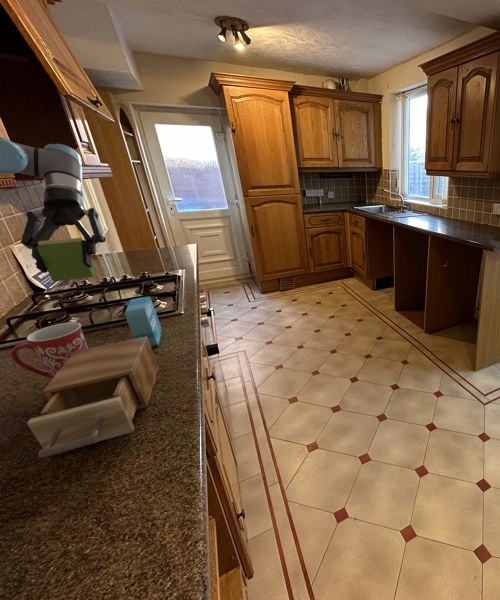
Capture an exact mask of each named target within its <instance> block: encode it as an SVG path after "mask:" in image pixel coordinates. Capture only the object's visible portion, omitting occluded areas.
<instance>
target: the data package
mask: <svg viewBox="0 0 500 600" xmlns="http://www.w3.org/2000/svg"><path fill="white" fill-rule="evenodd" d="M124 316H125V319H126V322H127V324H128V327H129V329H130V332H131V334H132V337H133V339H137V338H142V337H147V338H148V341H149V343H150V346H151V348H154V347H157V346H159V345H160V341H161V337H162V332H163V331H162V325H161V322H160V320H159V318H158V314H157V312H156V308H155V306H154V303H153V300H152V298H151V297H150V296H144V297H138V298H132V299H130V301H129V303H128V305H127V306H126V309H125V311H124Z"/></svg>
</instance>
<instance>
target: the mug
mask: <svg viewBox="0 0 500 600" xmlns="http://www.w3.org/2000/svg"><path fill="white" fill-rule="evenodd" d="M85 338H86V337H85V335H84V332H83V330H82V324H81V323H80V322H63V323H56V324H53V325H52V324H51V325H49V326H46V327H42V328H40V329H37V330H35V331H33V332H31V333H30V334H29V335H27V336H26V338H25V339H26V341H27V342H23V343H19V344H16V345H15V346H14V347H13V348H12V350H11V353H10V355H11V358H12V360H13V361H14V363H15V364H17V365H18V366H20V367H21V368H22V369H24V370H27V371H29V372H31V373H33V374H36V375H39V376H42V377H45V378H48V379H51V380H52V379H53V378H54V376H55V375H56V374H57V372H58V371H59V370H60V369H61V367H62V366H63V365H64V364H65V362H66V361H67V360H68V359H69V357H70V356H71V355H72V354H73V352H74V351H75V350H80V349H85V348H89V347H88V343H87V341H86V339H85ZM21 349H27V350H31V351H33V352H34V353H35V354H36V355H37V356H38V358H39V360H40V361H41V363H42V364H43V366H44V368H45V369H46V370H45V369H43V368H40V367H38V366H35V365H32V364H31V363H28V362H27V361H25V360H24V359H23V358H21V356H20V355H19V350H21Z"/></svg>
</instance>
